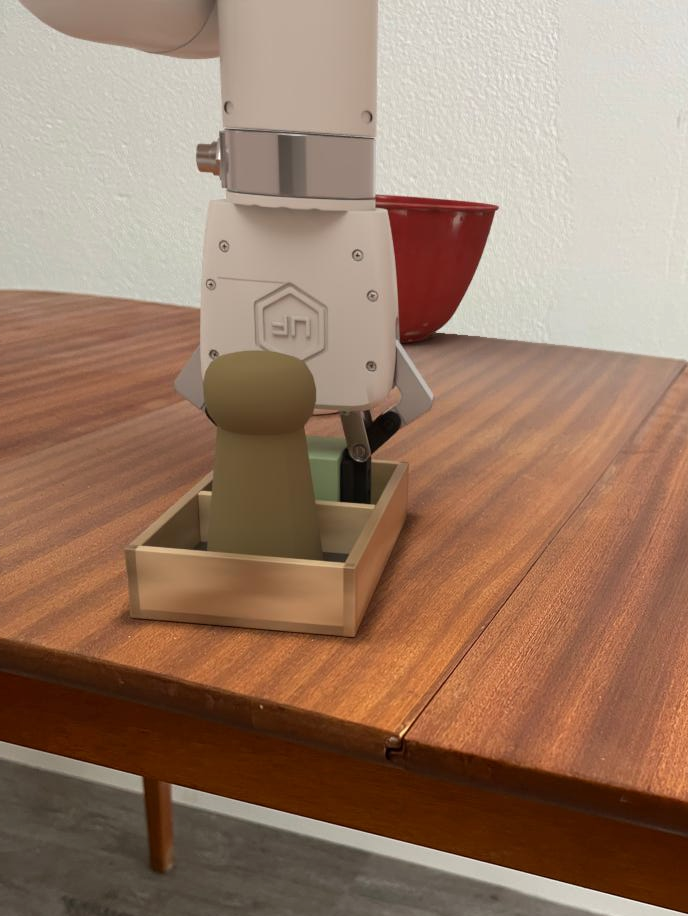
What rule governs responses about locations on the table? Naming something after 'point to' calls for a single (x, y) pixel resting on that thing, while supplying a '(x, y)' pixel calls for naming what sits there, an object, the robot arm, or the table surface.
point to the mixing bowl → (434, 257)
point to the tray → (268, 565)
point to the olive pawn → (262, 456)
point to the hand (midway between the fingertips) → (306, 515)
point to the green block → (326, 466)
